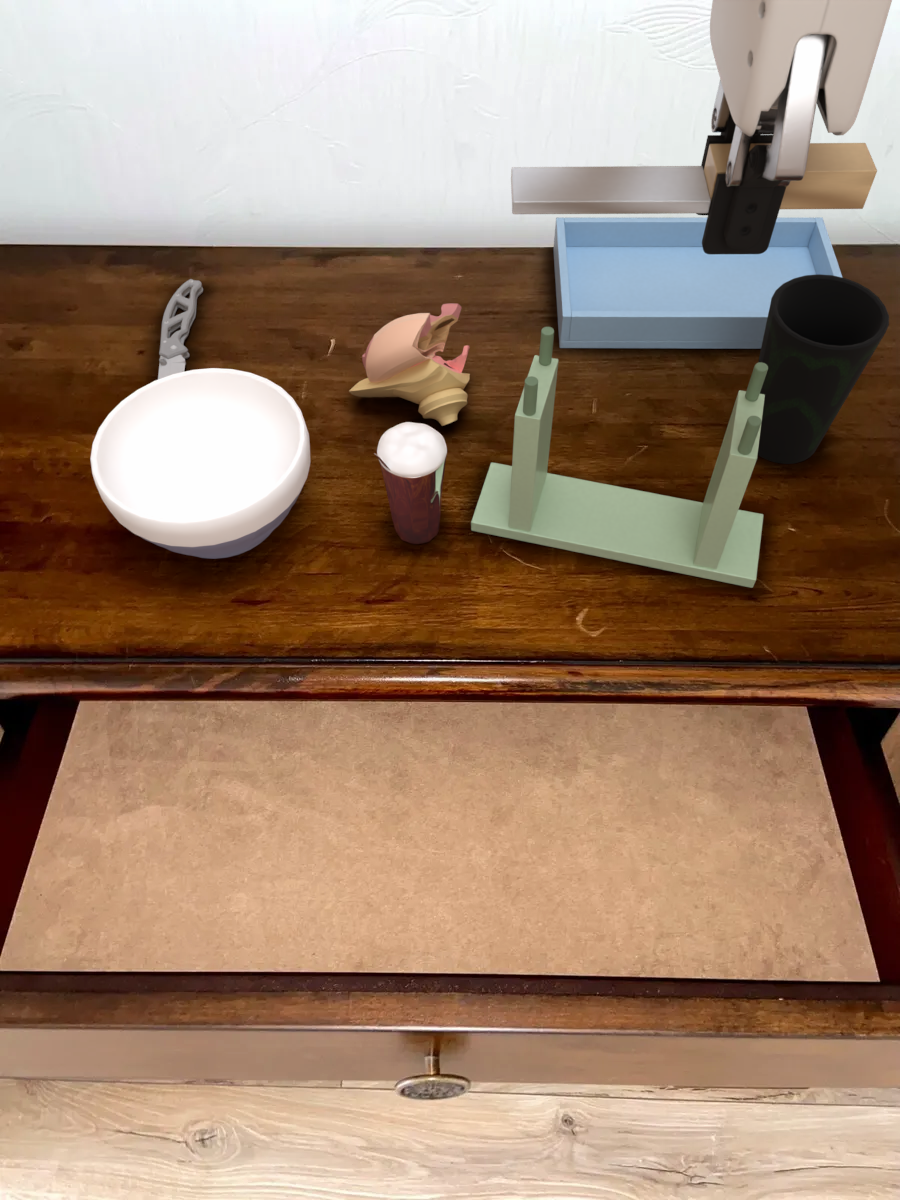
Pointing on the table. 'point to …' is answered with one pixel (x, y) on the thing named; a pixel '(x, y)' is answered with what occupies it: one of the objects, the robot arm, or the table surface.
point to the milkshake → (413, 478)
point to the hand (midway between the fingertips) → (728, 228)
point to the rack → (626, 495)
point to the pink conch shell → (417, 365)
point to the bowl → (203, 461)
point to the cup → (813, 359)
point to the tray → (674, 282)
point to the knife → (173, 346)
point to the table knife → (688, 184)
